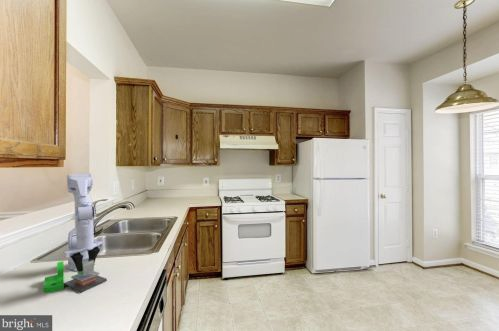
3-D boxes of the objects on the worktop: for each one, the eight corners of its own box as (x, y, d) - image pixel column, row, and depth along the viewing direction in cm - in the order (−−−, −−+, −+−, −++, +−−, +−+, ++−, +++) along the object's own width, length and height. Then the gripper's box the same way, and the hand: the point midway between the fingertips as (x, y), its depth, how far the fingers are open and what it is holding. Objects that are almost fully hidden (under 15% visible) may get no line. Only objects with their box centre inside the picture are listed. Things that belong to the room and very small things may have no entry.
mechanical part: (45, 282, 98) (44, 263, 98) (63, 277, 102) (63, 259, 102) (43, 295, 89) (43, 273, 89) (63, 289, 92) (63, 269, 92)
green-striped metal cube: (77, 273, 96) (77, 261, 96) (88, 269, 99) (87, 258, 99) (83, 276, 94) (83, 263, 94) (93, 271, 98) (93, 259, 97)
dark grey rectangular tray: (63, 285, 95) (63, 276, 95) (89, 274, 104) (89, 267, 104) (80, 292, 90) (80, 283, 90) (106, 281, 99) (106, 272, 99)
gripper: (70, 242, 88) (71, 278, 88) (108, 232, 101) (108, 263, 101) (60, 239, 91) (60, 274, 92) (98, 230, 104) (98, 260, 105)
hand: (85, 268), depth 97 cm, fingers closed on green-striped metal cube, 4 cm apart
